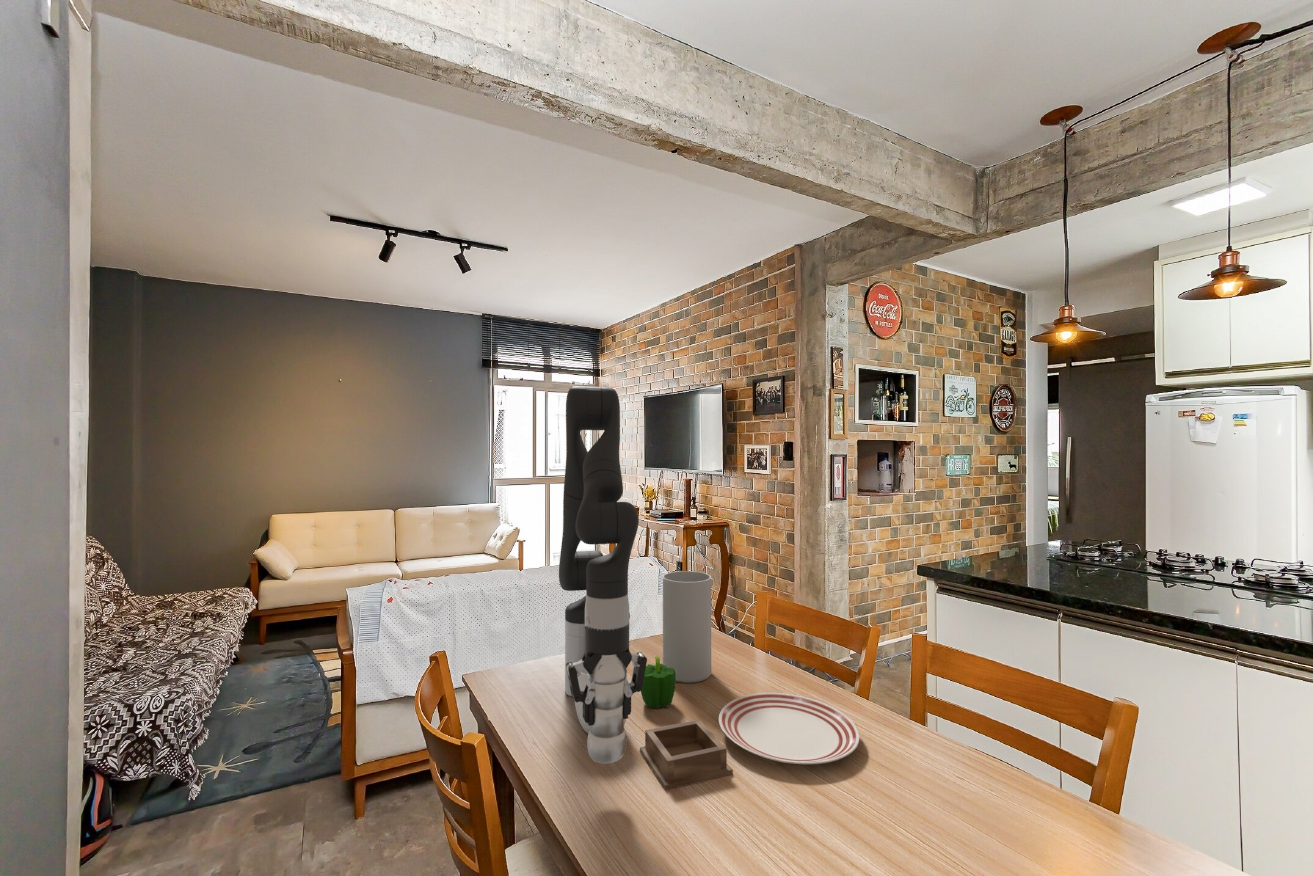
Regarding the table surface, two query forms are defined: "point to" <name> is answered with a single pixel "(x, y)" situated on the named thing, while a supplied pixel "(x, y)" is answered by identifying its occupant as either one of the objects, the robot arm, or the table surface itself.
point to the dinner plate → (789, 728)
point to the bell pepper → (658, 685)
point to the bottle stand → (684, 754)
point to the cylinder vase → (687, 625)
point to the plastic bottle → (607, 711)
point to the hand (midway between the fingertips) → (606, 719)
